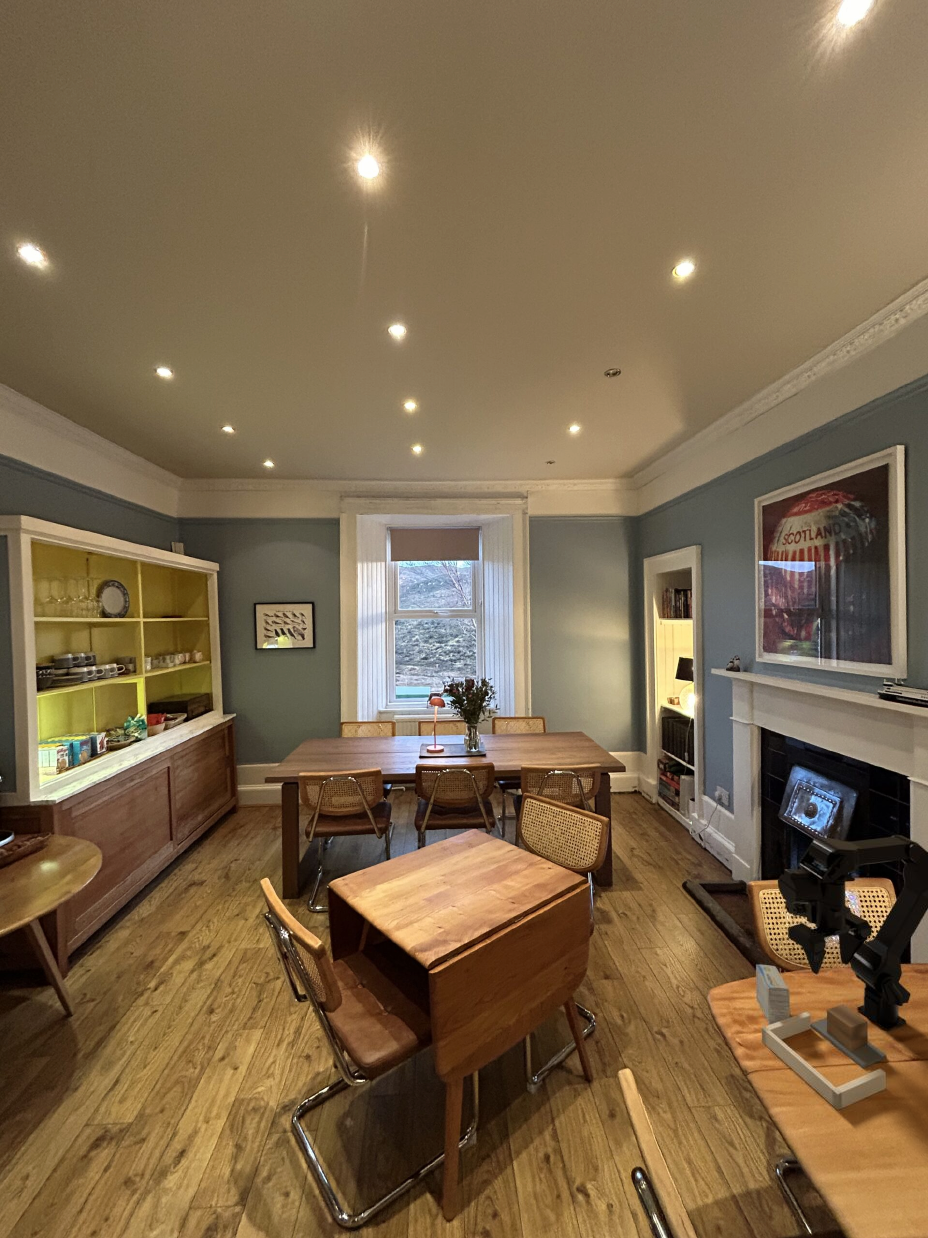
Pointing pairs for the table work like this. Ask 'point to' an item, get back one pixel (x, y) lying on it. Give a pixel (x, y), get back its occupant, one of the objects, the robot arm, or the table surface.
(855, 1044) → the walnut block
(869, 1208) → the table surface
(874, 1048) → the slate coaster
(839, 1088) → the white u-shaped frame
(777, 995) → the medicine box
